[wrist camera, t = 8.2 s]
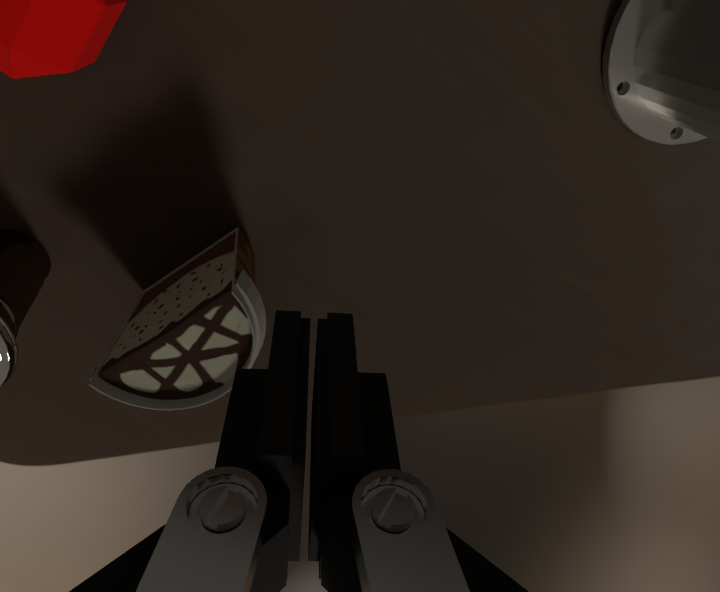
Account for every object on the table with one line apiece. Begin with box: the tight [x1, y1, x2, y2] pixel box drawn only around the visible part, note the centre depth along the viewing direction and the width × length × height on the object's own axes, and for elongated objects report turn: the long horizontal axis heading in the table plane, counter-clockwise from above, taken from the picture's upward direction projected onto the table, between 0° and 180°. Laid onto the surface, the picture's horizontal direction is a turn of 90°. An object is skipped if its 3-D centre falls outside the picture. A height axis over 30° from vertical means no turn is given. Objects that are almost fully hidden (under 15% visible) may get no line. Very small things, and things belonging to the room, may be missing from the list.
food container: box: [88, 226, 266, 410], centre depth 36 cm, size 12×6×10 cm, turn 123°
